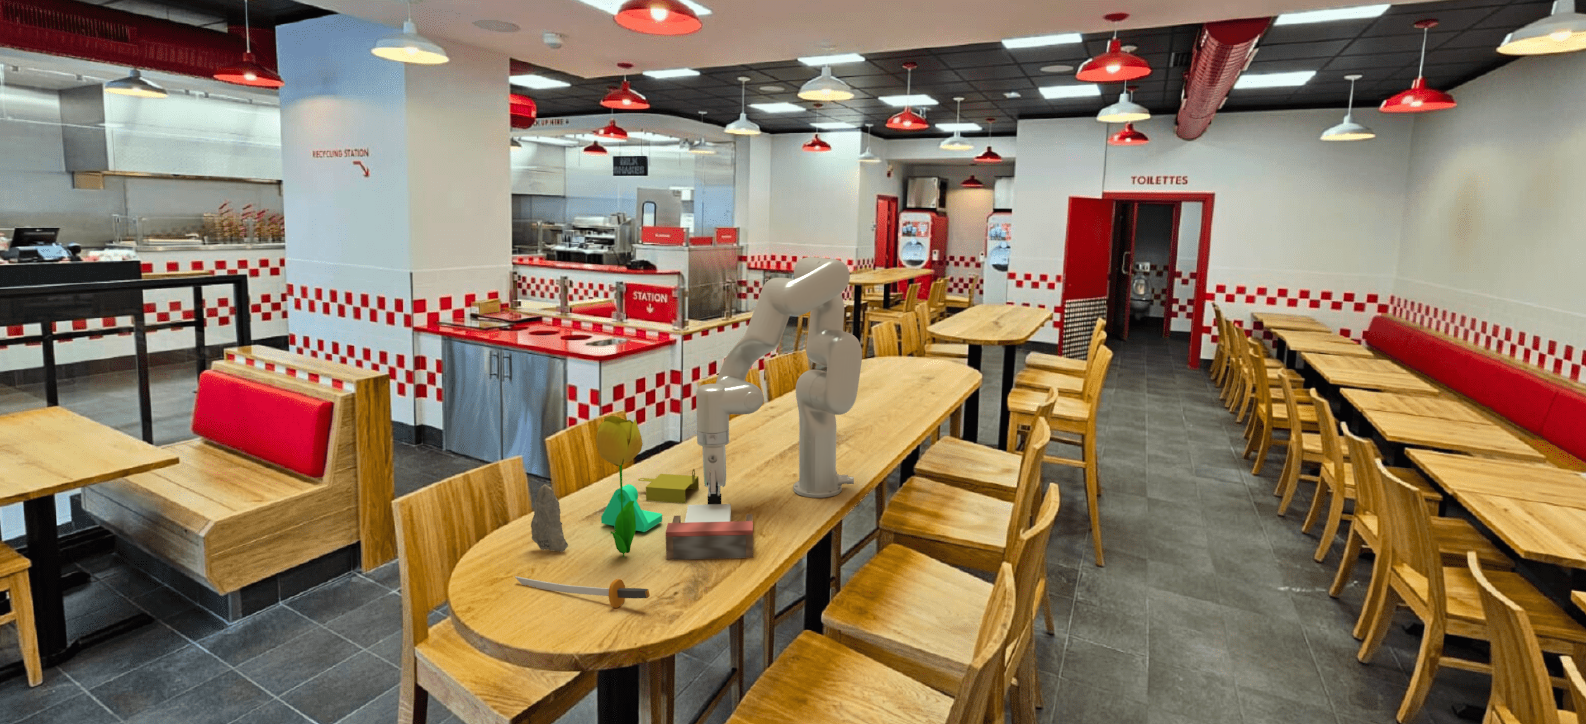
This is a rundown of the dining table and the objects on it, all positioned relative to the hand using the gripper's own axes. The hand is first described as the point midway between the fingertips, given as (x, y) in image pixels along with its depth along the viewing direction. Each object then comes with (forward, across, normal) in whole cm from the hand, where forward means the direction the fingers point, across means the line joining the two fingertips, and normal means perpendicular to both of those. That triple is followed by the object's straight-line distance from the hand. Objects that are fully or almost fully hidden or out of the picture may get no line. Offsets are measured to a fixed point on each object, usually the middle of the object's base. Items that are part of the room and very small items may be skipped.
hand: (714, 510), depth 189 cm
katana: (+1, -41, +23) cm, 47 cm away
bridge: (+1, -16, 0) cm, 16 cm away
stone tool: (+1, -20, +34) cm, 39 cm away
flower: (+1, -23, +18) cm, 29 cm away
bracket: (+2, +14, +13) cm, 19 cm away
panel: (+1, -10, +1) cm, 10 cm away
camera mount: (+1, -6, +18) cm, 20 cm away
